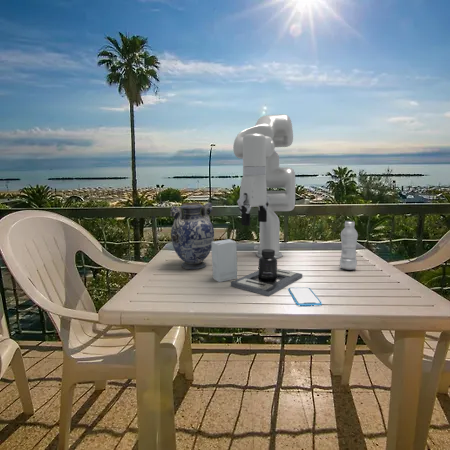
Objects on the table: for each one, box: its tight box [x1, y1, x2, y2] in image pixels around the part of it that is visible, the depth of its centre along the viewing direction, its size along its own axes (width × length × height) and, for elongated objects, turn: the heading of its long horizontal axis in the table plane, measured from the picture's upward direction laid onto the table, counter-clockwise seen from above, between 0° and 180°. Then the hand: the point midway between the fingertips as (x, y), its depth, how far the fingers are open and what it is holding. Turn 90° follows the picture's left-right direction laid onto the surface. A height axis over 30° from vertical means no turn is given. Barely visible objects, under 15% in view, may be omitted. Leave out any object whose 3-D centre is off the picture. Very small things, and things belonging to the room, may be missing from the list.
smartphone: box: [287, 287, 323, 307], centre depth 104 cm, size 8×1×15 cm
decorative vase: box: [169, 201, 215, 271], centre depth 139 cm, size 21×18×28 cm
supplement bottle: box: [257, 249, 278, 284], centre depth 118 cm, size 7×7×12 cm
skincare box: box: [211, 238, 238, 283], centre depth 122 cm, size 8×6×15 cm
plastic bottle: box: [339, 220, 359, 271], centre depth 131 cm, size 6×7×20 cm
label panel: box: [230, 268, 303, 297], centre depth 119 cm, size 16×24×2 cm, turn 140°
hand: (254, 223), depth 109 cm, fingers open, 9 cm apart
